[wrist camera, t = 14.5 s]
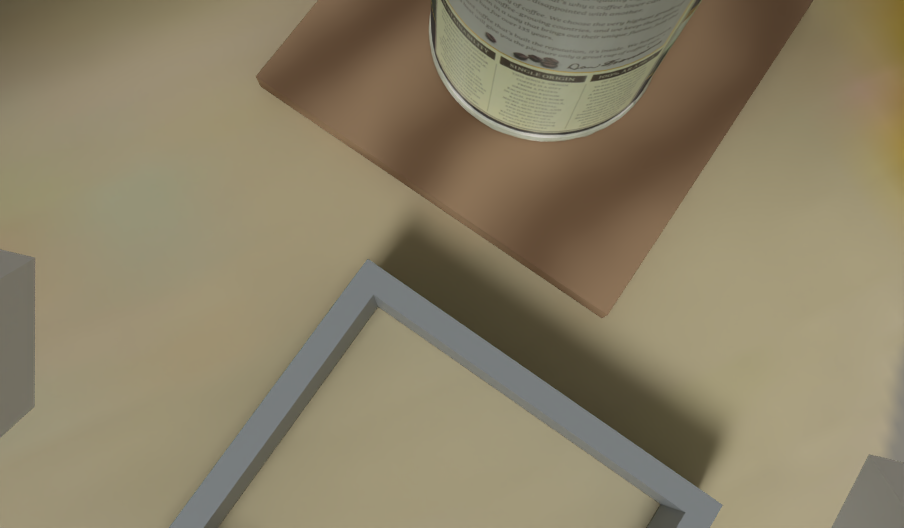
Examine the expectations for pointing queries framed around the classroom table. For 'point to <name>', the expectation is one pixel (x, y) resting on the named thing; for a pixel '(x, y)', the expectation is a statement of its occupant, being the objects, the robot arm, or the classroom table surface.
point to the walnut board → (525, 161)
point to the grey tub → (682, 503)
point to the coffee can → (552, 59)
